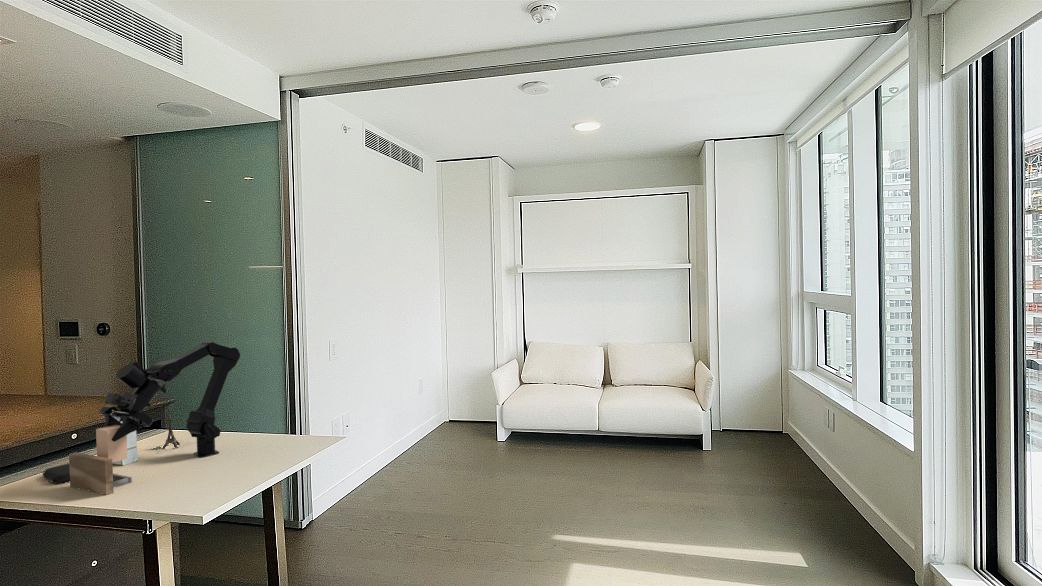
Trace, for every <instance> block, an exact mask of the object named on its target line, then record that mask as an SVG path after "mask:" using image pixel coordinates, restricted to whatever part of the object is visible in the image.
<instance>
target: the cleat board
mask: <svg viewBox="0 0 1042 586" xmlns="http://www.w3.org/2000/svg"><path fill="white" fill-rule="evenodd" d="M68 464H69V468H70V482H69V487H70V488H73V487H75V488H74V489H77V488H80V489H79V490H82V489H84V490H83V491H86V490H89V491H88V492H90V491H93V492H92V493H95V492H97V493H96V494H99V493H102V494H101V495H103V494H106V495H105V496H108V495H111V494H110V493H112V494H114V493H115V492H114V489H115V488H118V487H122V486H124V485H127V484H130V483H132V481H133V480H132V479H133V477H132V476H127V475H122V474H121V475H120V474H118V473H114V471H113V470H114V469H113V467H114V466H113V465H114V464H112V459H110V458H104V457H99V456H97V455H93V454H88V453H87V454H86V453H82V452H76V451H75V452H73V453H69V454H68ZM114 487H115V488H114ZM113 492H114V493H113ZM107 494H108V495H107Z"/></svg>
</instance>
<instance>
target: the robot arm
mask: <svg viewBox="0 0 1042 586" xmlns="http://www.w3.org/2000/svg"><path fill="white" fill-rule="evenodd" d="M208 356H209V357H212V358H213V360H212V363H213V368H214V369H213V371H212V374H211V377H210V379H209V381H208V384H207V387H206V389H205V392H204V394H203V397H202V400H201V402H200V405H199V407H198V408H197V409H196V410H191V411H190V412H189V414H188V415H189V416H188V417H187V420H185V423H186V429H187V431H188V433H189V434H190V435H191V438H196V451H195V452H193V455H194V456H196V457H198V458H204V457H207V456H213V455H216V454H219V453H220V451H218V450H216V438H218V437H220V435H221V432H222V430H221V429H220V428H219V427H218V426H216V425H215V421H216V416H215V409H216V406H217V403H218V402H219V398H220V396H221V393H222V391H223V388H224V385H225V383H226V380H227V378H228V374H229V373H230V372H231V370H233V369H234V368H235V367H236V366H237V364H238V361H239V360H240V358H241V352H240V350H239V349H238V348H237V347H233V346H232V347H229V346H225V345H221V344H218V343H216V342H214V341H204V342H202V343H200V344H199V345H196V346H195V347H193V348H191V349H189V350H187V351H186V352H184V353H182V354H180V355H178V356H176V357H174V358H171V359H167V360H163V361H158V362H155V363H153V364H152V365H150V367H148V368H146V369H144V367H142V366H141V365H140V364H139V363H138V362H137V361H130V363H129V364H126V365H123V367H122V368H120V369H118V371H117V372H116V374H115V375H116V376H115V377H116V379H118V380H119V381H120V382H122V384H124V385H126V386H127V387H128V388H130V389H135V390H134V391H133V392H132V393H130V392H127V391H125V392H124V391H123V392H121V393H120V394H119V393H113V392H108V393H107V396H106V398H105V400H104V402H103V403H104V404H107V405H105V406H102V408H100V410H99V413H100V414H102V415H103V416H104V417H105V423H104V426H103V427H108V426H112V425H120V427H119V429H118V430H117V432H116V433H115V435H114V436H113V438H112V441H114V442H115V441H117V440H119V439H120V438H122V437H124V436H126V435H127V434H129V433H131V432H133V431H135V430H136V431H137V430H139V429H142V428H143V427H147V428H149V427H151V425H152V424H153V422H154V418H153V416H152V415H150V414H149V413H147V412H146V411H145V409H146V408H150V407H151V406H152V404H151V402H152V400H153V399H154V398H155V397H156V395H157V394H158V393H161V394H166V393H167V389H166V384H164V383H163V384H160V383H159V382H171V381H173V379H175V378H176V377H177V376H179V375H180V373H181V372H182V371H183V370H184V369H185V368H188V367H189V366H191V365H193V364H195V363H196V362H198V361H200V360H202V359H204V358H205V357H208ZM108 404H110V405H108ZM113 405H114V406H113ZM121 421H122V423H121Z"/></svg>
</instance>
